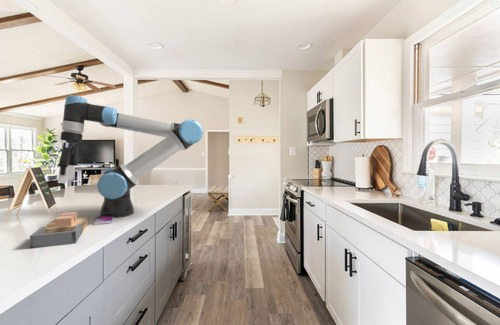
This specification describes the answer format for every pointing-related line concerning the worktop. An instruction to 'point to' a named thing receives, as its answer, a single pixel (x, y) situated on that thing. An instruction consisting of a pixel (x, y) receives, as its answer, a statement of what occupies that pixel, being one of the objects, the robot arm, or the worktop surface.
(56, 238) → the tray
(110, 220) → the smartphone
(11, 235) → the worktop surface
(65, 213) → the tile
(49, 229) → the board
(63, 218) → the tile
